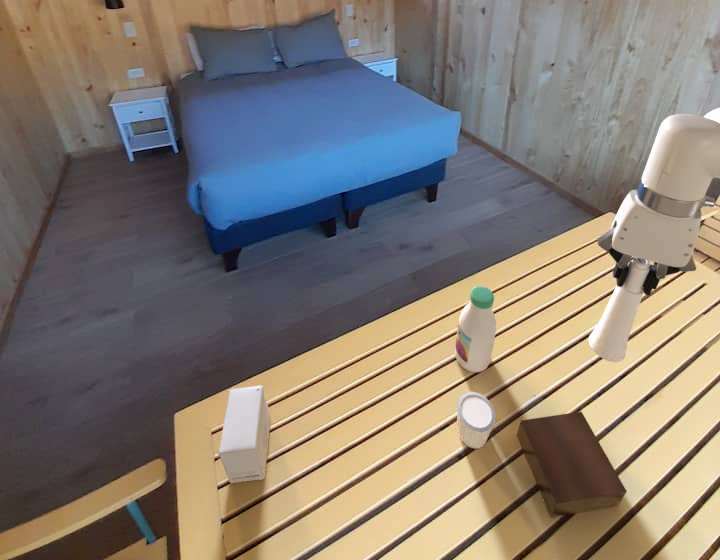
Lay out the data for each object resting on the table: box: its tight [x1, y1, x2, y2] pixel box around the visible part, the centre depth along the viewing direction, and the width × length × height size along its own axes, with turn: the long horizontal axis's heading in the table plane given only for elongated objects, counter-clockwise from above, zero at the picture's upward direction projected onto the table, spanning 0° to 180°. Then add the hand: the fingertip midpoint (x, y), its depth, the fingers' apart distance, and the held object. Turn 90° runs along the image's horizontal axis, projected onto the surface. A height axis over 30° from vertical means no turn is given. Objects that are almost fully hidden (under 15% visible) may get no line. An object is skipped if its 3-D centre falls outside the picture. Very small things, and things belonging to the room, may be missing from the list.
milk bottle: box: [454, 285, 497, 373], centre depth 85 cm, size 8×8×20 cm
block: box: [516, 411, 627, 518], centre depth 70 cm, size 12×12×5 cm
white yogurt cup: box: [456, 391, 496, 450], centre depth 75 cm, size 7×7×7 cm
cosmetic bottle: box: [588, 256, 651, 363], centre depth 70 cm, size 6×6×22 cm
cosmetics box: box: [218, 384, 271, 484], centre depth 72 cm, size 10×6×10 cm, turn 5°
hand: (632, 284), depth 67 cm, fingers closed on cosmetic bottle, 3 cm apart
